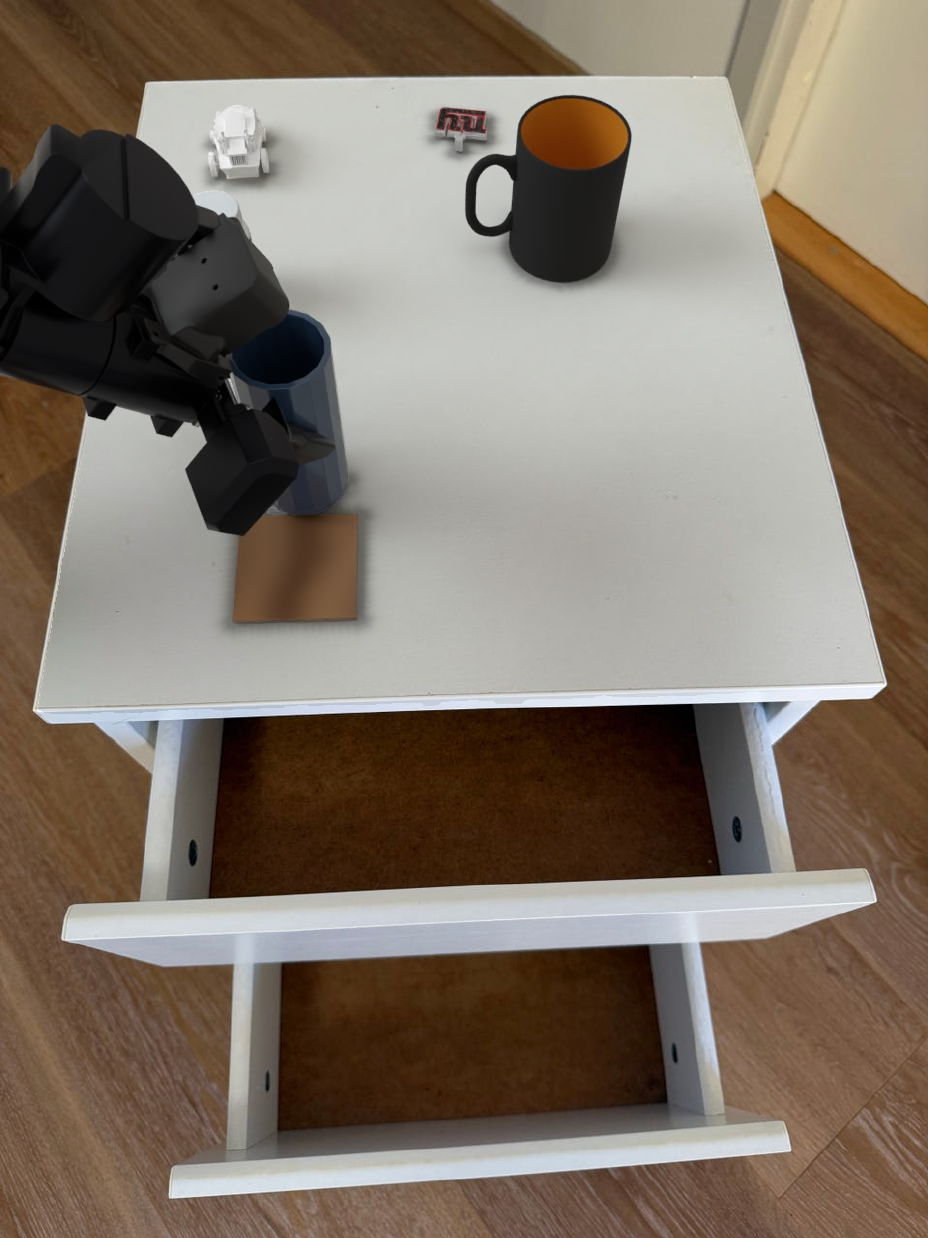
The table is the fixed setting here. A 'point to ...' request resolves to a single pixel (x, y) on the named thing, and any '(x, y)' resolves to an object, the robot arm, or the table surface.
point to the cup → (297, 402)
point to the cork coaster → (297, 569)
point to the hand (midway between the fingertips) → (313, 412)
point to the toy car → (238, 143)
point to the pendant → (464, 119)
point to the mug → (561, 187)
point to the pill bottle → (221, 205)
